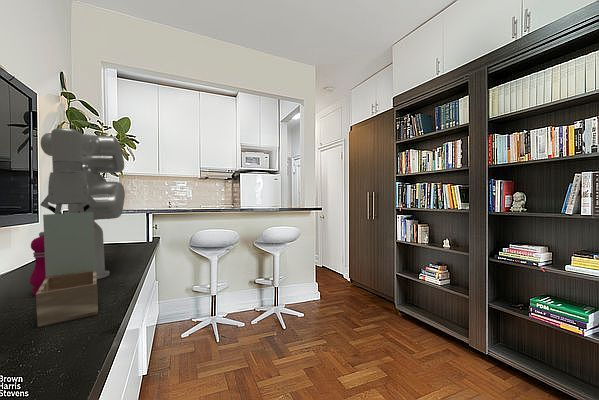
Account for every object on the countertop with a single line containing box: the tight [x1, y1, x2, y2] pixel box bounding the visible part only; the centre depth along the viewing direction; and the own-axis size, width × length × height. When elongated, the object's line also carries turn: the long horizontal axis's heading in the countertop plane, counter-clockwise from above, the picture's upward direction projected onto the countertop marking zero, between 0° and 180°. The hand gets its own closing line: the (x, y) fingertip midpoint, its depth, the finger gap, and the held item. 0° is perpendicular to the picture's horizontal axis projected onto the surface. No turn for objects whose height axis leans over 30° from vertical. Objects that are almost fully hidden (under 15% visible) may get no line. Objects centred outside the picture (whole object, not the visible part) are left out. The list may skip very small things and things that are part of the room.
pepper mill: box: [29, 231, 60, 297], centre depth 98 cm, size 7×7×20 cm
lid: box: [42, 212, 96, 277], centre depth 93 cm, size 18×12×6 cm
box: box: [35, 270, 99, 328], centre depth 82 cm, size 18×12×8 cm, turn 35°
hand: (70, 225), depth 95 cm, fingers closed on lid, 4 cm apart
